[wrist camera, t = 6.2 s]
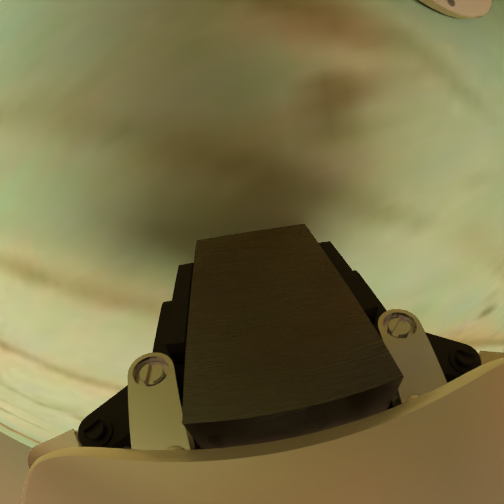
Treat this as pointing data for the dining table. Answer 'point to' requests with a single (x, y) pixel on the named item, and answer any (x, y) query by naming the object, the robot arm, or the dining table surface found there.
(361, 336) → the shaft
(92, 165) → the dining table surface
